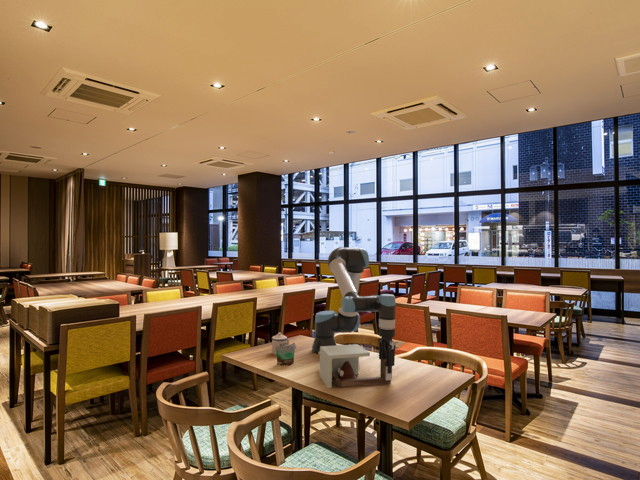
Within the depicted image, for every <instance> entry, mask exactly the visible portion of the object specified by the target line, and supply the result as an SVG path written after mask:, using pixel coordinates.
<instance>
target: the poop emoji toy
mask: <svg viewBox="0 0 640 480" xmlns="http://www.w3.org/2000/svg"><path fill="white" fill-rule="evenodd" d="M337 373H338V376H337V377H338V378H339V379H340V380H345V379H357V377H356V376H357V375H355V374H354V370H353V368H352V367H351V365H350V363H349V362H348V361H345V362H344V364H343V366H342V367H341V369H340V368H338V369H337Z"/></svg>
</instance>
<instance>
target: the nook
mask: <svg viewBox="0 0 640 480" xmlns="http://www.w3.org/2000/svg"><path fill="white" fill-rule="evenodd" d="M336 345H337V344H336ZM362 357H370V352H369V351H368V350H366V348H364V347H362V346H361V345H359V343H358V344H357V343H356V344H342V345H341V344H339V345H337V346H320V356H319V378H320V380H322V382H323V383H324V384H325V386H326V387H327V388H328V389H332V388H333V386H332V384H333V381H332V373H335V374H336V375H337V377H338V373H337V369H338V368H340V369H341V367H342V366H343V364H344V362H345V361H348V362H349V363H350V365H351V367H352V368H353V370H354V374H355V376H357V375H359V369H360V368H359V367H360V366H359V364H360V361H359V360H360V359H359V358H362Z"/></svg>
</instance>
